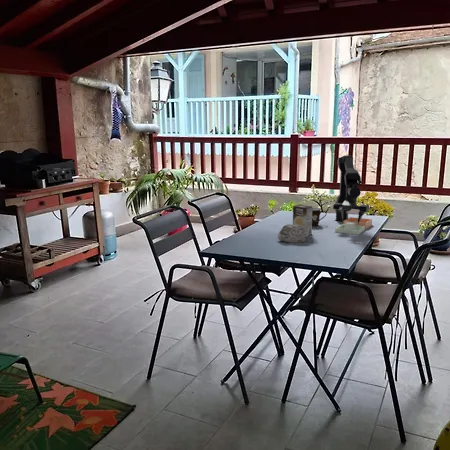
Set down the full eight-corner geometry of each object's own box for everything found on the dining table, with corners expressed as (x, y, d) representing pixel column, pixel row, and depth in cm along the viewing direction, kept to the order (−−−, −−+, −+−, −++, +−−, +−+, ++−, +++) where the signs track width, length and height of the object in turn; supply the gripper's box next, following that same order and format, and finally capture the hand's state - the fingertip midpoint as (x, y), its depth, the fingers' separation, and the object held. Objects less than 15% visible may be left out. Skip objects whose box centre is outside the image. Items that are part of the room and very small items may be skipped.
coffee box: (291, 234, 256) (292, 206, 252) (298, 232, 260) (298, 204, 257) (306, 236, 250) (306, 207, 246) (312, 234, 254) (313, 206, 251)
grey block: (344, 231, 258) (345, 223, 257) (347, 229, 261) (347, 221, 260) (352, 232, 255) (353, 224, 254) (355, 230, 259) (355, 222, 258)
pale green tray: (335, 232, 257) (335, 228, 256) (342, 228, 267) (342, 224, 266) (358, 235, 250) (358, 231, 249) (364, 230, 260) (364, 226, 259)
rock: (311, 240, 241) (308, 221, 240) (305, 243, 234) (302, 224, 233) (283, 242, 249) (280, 224, 248) (277, 245, 242) (274, 226, 241)
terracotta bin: (343, 227, 268) (343, 220, 267) (350, 223, 278) (350, 217, 277) (365, 230, 261) (366, 223, 260) (371, 225, 271) (372, 219, 270)
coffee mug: (304, 226, 274) (304, 209, 272) (307, 223, 282) (307, 207, 279) (323, 227, 269) (324, 210, 267) (326, 224, 277) (327, 208, 275)
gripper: (329, 195, 252) (329, 223, 256) (363, 198, 242) (362, 227, 246) (336, 192, 261) (336, 219, 265) (370, 195, 251) (368, 223, 255)
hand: (350, 222), depth 257 cm, fingers open, 9 cm apart
